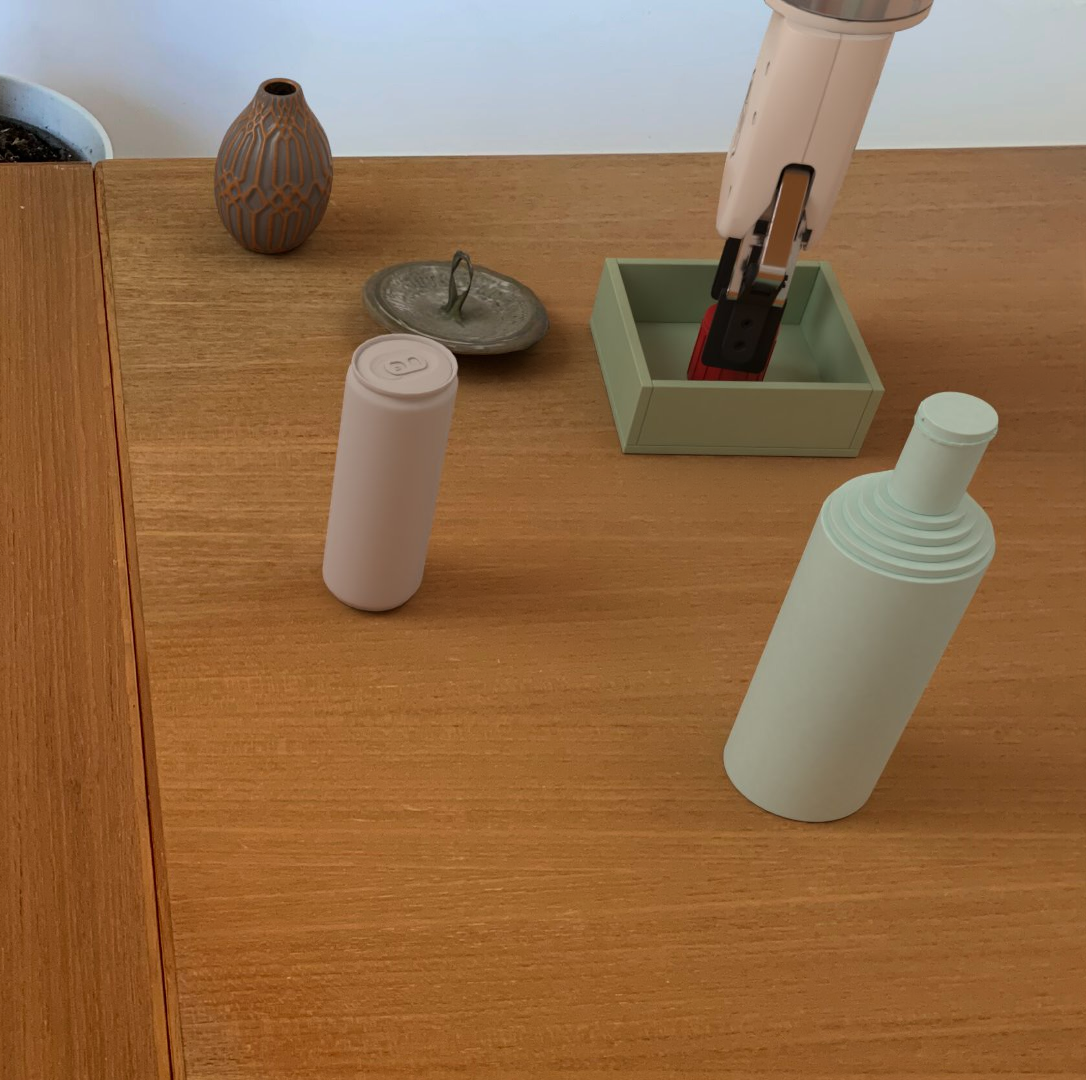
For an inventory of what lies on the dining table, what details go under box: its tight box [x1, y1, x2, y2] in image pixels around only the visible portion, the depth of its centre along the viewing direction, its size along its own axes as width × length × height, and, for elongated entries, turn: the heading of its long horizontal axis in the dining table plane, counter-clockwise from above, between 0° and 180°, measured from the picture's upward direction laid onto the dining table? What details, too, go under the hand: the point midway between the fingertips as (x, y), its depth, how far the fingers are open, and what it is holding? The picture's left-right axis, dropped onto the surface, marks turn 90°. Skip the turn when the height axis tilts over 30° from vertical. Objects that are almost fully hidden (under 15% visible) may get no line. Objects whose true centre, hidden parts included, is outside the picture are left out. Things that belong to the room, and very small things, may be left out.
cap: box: [687, 303, 780, 382], centre depth 90 cm, size 4×4×4 cm
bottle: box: [722, 391, 999, 823], centre depth 67 cm, size 6×6×18 cm
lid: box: [361, 249, 551, 356], centre depth 94 cm, size 11×10×5 cm
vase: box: [213, 77, 334, 254], centre depth 98 cm, size 7×7×9 cm
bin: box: [589, 257, 886, 458], centre depth 90 cm, size 12×12×4 cm
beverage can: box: [321, 333, 459, 612], centre depth 77 cm, size 5×5×12 cm
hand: (736, 330), depth 89 cm, fingers open, 5 cm apart
